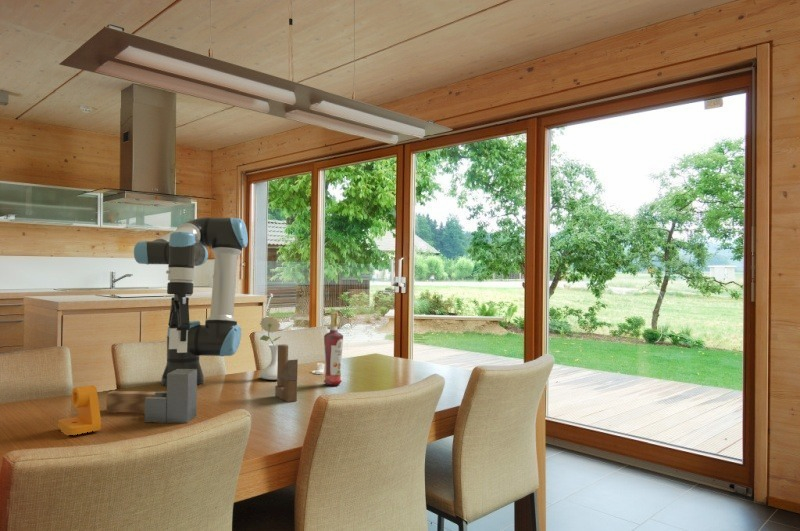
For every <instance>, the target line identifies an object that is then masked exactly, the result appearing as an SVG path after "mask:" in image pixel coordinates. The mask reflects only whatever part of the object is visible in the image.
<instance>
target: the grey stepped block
mask: <svg viewBox="0 0 800 531" xmlns="http://www.w3.org/2000/svg"><path fill="white" fill-rule="evenodd" d="M154 392H155V397H147V398H145V413H144V423H145V422H159V423H158V424H168V423H169V424H173V423H175V424H177V423H178V424H188V423H189V422H191V421H192V420H193V419H194V418H195V417H197V407H198V406H197V404H198V403H197V402H198V401H197V399H198V398H197V397H198V385H197V369H176V370H174V371H172V372H170V373H168V374H167V386H166V391H154Z"/></svg>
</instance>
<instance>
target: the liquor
mask: <svg viewBox="0 0 800 531" xmlns="http://www.w3.org/2000/svg"><path fill="white" fill-rule="evenodd" d="M338 313H339V312H338V311H330V328H329V332H327V333H325V334H324V335H323V341H324V342H323V346H324V347H323V349H324V350H323V353H324V364H325V365H324V370H325V371H324V373H325V374H324V381H323V382H324V384H325V385H327V386H328V387H337V386H339V385H340V384H341V383H342V382H343V381H342V378H341V377H342V376H341V375H342V359H343V345H344V335H343V334H342V333H340V332H338V316H339V315H338Z"/></svg>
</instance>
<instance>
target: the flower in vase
mask: <svg viewBox="0 0 800 531" xmlns="http://www.w3.org/2000/svg"><path fill="white" fill-rule="evenodd" d="M259 326H261V328H262V330H263V331H265V332H267V333H268V336H267V335H262V336H261V337H260V339H259V340H262V341H265V342H267V341H269V340H270V341H271V343H269V344H268V347H269V349H270V353H271V361H270V363H269V364H268V365H267V366H266V367H265V368H264V369H263V370H262V371H261V372H260V373H259V378H262V379H264V380H269V381H277V365H278V345H281V344H282V343H274V342H276V341H277V340H279V339H280V338H281V336H282V335H280V336H278V337H275V338H274V339H273V340H272V339H271V337H270V333H271V334H273V333H276V332H278V331H279V330H280V329H281V323H280V321H279V320H278V319H277V318H275V317H274V316H270V315H269V316H265V317H262V318H261V320H260V324H259Z"/></svg>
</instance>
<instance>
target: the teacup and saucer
mask: <svg viewBox="0 0 800 531" xmlns="http://www.w3.org/2000/svg"><path fill="white" fill-rule="evenodd" d="M316 368H317V370H312V371H311V373H312V374H314V375H315V374H317V375H325V362H317V364H316Z"/></svg>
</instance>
